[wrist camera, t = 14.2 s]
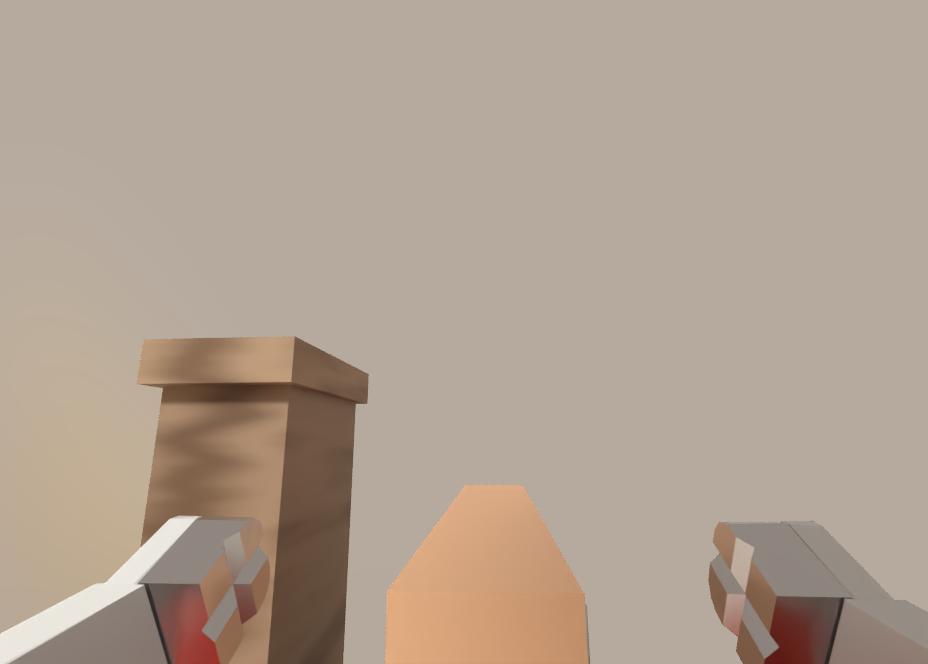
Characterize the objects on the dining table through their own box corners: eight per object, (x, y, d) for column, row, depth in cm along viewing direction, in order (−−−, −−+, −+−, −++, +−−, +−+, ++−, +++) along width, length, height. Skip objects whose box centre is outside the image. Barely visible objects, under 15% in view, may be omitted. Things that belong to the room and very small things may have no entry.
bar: (524, 531, 32) (522, 485, 33) (594, 771, 9) (584, 594, 9) (465, 530, 32) (465, 485, 33) (382, 762, 9) (387, 591, 10)
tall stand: (348, 833, 26) (368, 374, 32) (230, 1143, 15) (294, 336, 21) (228, 827, 27) (269, 375, 33) (22, 1121, 15) (143, 339, 21)
